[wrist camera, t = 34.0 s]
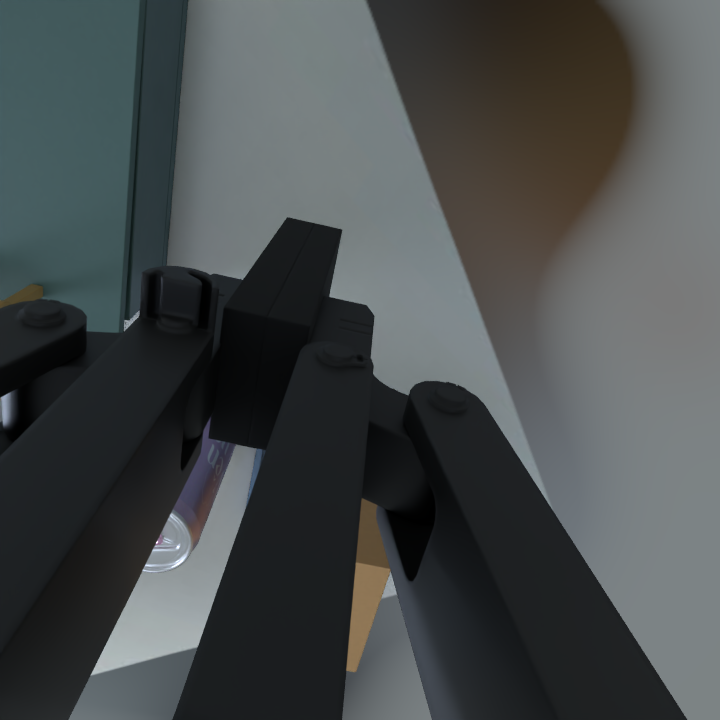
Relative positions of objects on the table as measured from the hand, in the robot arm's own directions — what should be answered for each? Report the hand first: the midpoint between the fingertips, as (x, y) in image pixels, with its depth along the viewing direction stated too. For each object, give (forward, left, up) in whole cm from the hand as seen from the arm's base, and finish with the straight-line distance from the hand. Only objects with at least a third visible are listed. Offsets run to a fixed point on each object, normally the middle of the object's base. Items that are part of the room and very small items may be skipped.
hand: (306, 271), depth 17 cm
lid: (+19, +3, -19) cm, 27 cm away
